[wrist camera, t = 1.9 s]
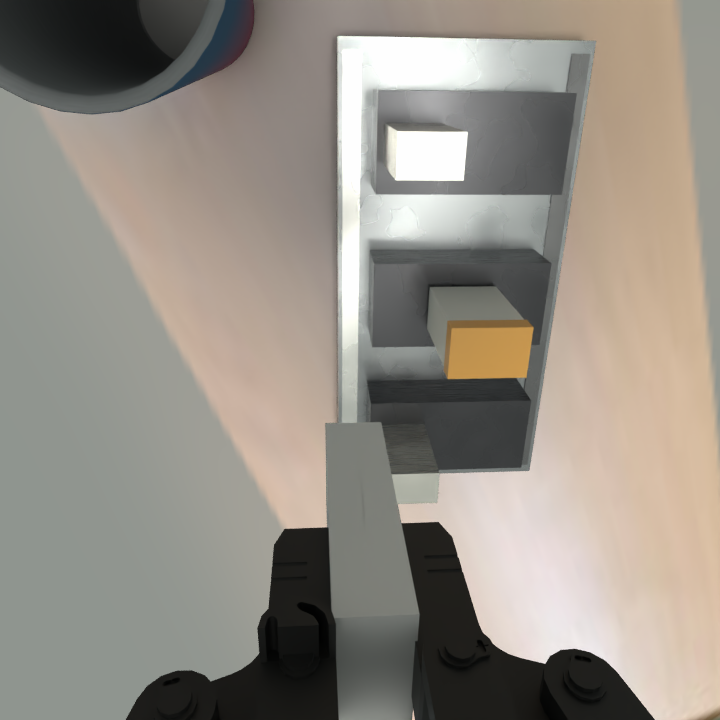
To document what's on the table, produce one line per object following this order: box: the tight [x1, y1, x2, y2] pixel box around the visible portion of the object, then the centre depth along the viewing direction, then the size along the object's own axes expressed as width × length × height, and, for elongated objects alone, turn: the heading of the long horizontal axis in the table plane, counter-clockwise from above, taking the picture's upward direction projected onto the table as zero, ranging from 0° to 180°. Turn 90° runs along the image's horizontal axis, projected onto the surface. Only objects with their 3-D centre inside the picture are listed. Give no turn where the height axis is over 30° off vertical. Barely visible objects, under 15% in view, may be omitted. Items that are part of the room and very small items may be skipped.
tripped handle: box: [427, 286, 534, 379], centre depth 25 cm, size 2×3×5 cm
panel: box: [337, 36, 596, 504], centre depth 28 cm, size 22×11×8 cm, turn 179°
